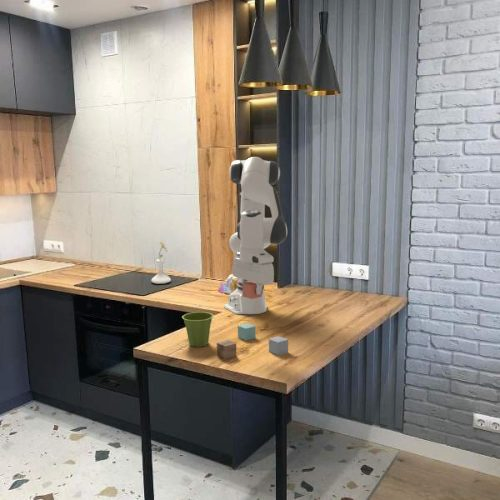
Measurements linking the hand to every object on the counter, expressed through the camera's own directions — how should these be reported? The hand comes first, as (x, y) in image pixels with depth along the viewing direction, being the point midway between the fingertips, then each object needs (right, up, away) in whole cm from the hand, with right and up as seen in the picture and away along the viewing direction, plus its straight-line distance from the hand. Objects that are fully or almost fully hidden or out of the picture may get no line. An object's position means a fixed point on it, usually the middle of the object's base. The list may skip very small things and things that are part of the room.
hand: (252, 292), depth 188 cm
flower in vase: (-53, -4, +114) cm, 126 cm away
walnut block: (-9, -23, -4) cm, 25 cm away
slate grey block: (+10, -22, 0) cm, 24 cm away
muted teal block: (-2, -20, +16) cm, 25 cm away
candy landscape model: (-8, -7, +96) cm, 97 cm away
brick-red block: (0, -2, 0) cm, 2 cm away
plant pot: (-21, -21, +8) cm, 31 cm away
